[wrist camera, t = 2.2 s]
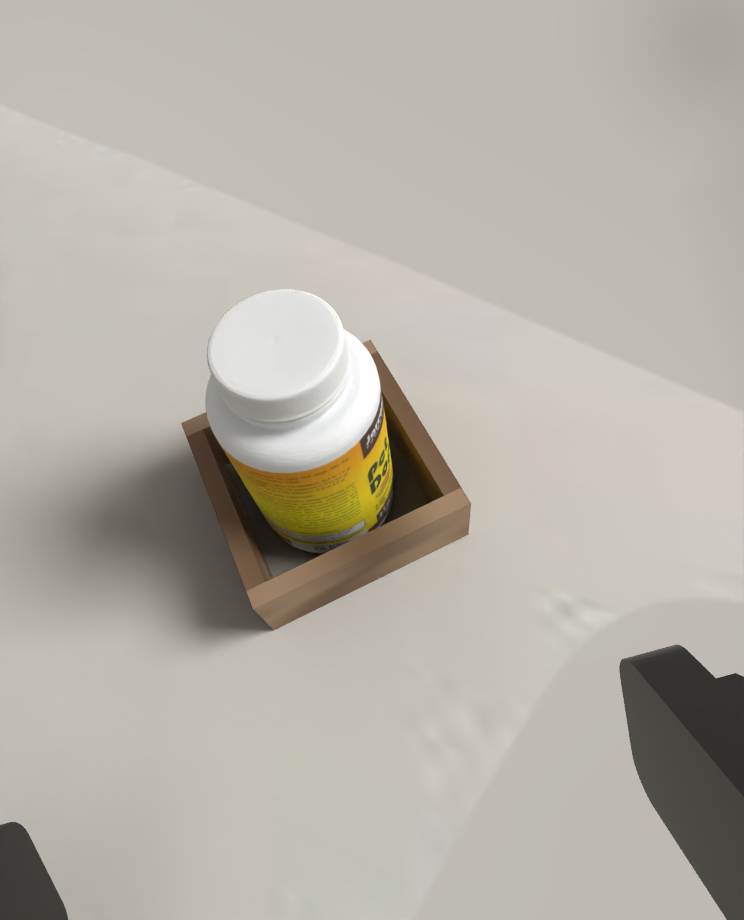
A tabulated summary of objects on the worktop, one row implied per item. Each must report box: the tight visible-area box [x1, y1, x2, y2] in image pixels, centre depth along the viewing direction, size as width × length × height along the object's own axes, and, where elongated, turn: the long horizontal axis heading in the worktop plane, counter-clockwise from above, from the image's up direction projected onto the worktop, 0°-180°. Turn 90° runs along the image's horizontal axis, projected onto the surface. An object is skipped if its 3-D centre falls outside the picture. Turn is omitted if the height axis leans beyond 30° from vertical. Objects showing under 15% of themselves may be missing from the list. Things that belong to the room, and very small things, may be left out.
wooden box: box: [181, 340, 471, 630], centre depth 26 cm, size 8×8×3 cm
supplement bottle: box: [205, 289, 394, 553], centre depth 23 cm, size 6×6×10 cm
